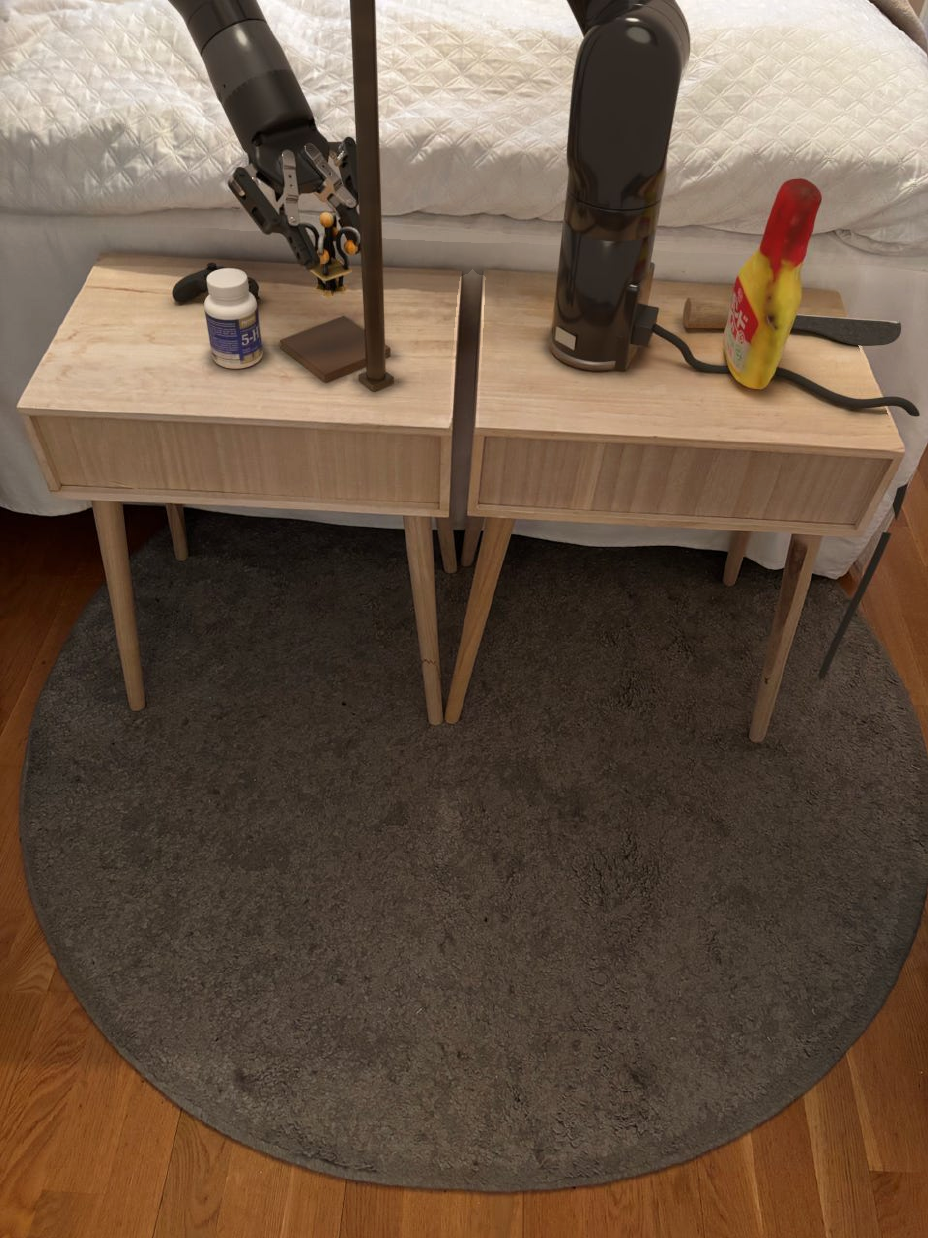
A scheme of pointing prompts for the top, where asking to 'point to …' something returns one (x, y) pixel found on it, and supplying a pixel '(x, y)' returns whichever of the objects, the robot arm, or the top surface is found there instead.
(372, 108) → the display stand
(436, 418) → the top surface
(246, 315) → the pill bottle
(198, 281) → the game controller
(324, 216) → the decorative sculpture
